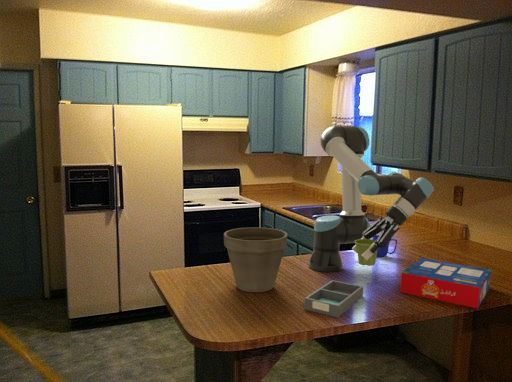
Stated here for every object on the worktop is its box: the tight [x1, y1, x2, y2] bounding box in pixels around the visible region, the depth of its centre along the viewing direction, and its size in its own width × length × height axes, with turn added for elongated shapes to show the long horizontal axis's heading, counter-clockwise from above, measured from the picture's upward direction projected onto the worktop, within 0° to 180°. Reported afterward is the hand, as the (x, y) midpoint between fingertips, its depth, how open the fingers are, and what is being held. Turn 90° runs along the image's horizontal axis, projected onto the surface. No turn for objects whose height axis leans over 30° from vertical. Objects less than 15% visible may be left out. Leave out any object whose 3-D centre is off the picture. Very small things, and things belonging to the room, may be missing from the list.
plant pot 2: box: [354, 238, 377, 267], centre depth 177 cm, size 9×9×9 cm
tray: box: [303, 280, 364, 318], centre depth 168 cm, size 13×25×4 cm, turn 148°
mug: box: [372, 234, 398, 258], centre depth 234 cm, size 8×12×10 cm
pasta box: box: [399, 257, 492, 309], centre depth 185 cm, size 28×8×28 cm
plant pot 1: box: [223, 227, 288, 293], centre depth 183 cm, size 25×25×22 cm
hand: (359, 254), depth 176 cm, fingers closed on plant pot 2, 9 cm apart
